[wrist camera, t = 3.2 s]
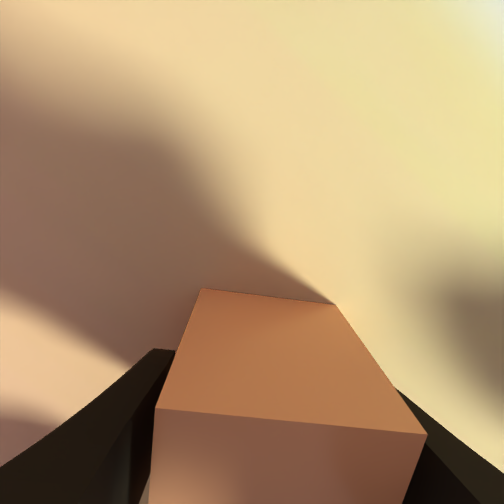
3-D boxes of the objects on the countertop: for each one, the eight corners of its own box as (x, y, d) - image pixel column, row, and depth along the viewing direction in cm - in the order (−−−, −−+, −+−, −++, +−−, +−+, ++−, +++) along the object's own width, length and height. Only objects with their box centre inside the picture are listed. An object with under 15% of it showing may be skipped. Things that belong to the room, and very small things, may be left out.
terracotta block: (335, 303, 10) (427, 434, 5) (309, 413, 11) (362, 608, 6) (201, 287, 9) (155, 407, 4) (189, 401, 10) (141, 594, 6)
